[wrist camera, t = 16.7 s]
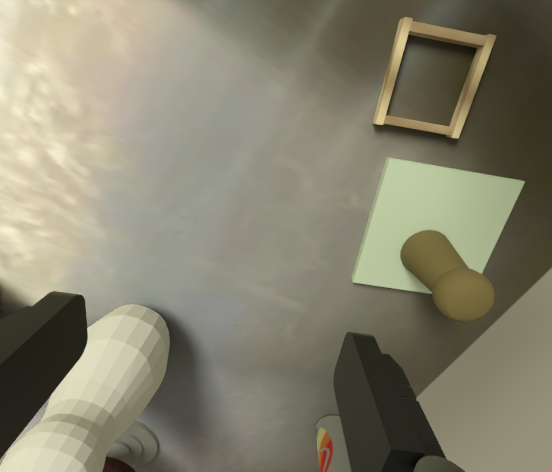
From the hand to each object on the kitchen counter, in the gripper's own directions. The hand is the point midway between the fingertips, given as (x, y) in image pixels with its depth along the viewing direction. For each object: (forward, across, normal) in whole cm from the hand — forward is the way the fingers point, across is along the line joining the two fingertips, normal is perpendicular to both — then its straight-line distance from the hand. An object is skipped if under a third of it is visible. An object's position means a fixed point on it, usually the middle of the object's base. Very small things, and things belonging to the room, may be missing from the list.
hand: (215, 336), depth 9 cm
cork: (+27, -22, +6) cm, 35 cm away
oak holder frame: (+28, -16, -12) cm, 34 cm away
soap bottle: (+28, +14, +26) cm, 41 cm away
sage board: (+28, -22, +4) cm, 36 cm away
